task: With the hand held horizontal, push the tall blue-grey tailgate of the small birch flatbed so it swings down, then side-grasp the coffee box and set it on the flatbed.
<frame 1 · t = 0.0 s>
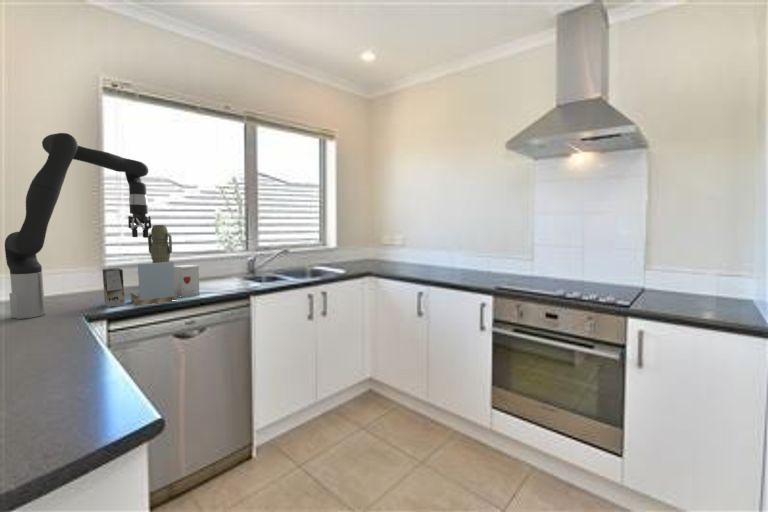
hand: (140, 237, 191), 29 cm above the countertop, tool pointing down, fingers open, 8 cm apart
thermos: (162, 290, 211), on the countertop
flatbed: (154, 301, 182), on the countertop
tailgate: (156, 280, 176), point 11 cm above the countertop, hinge at 0.0°
coffee box: (114, 305, 174), on the countertop
supplement box: (186, 295, 197), on the countertop
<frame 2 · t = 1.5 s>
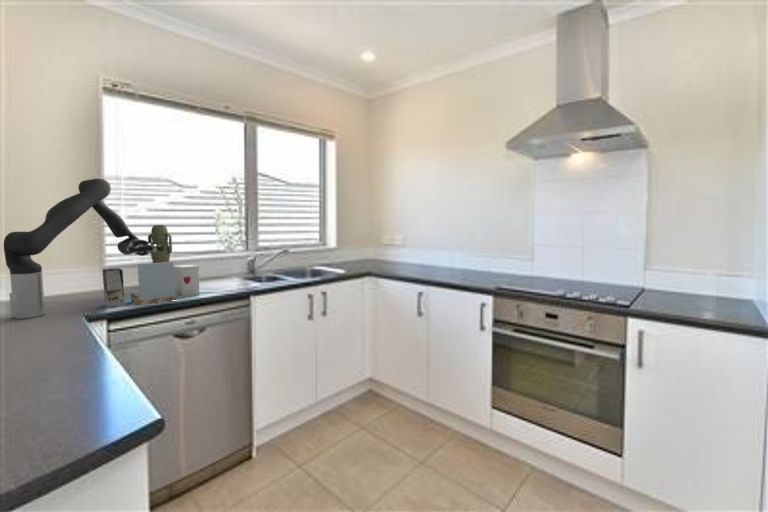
hand: (150, 249, 179), 24 cm above the countertop, tool horizontal, fingers open, 8 cm apart
nothing on the countertop moved.
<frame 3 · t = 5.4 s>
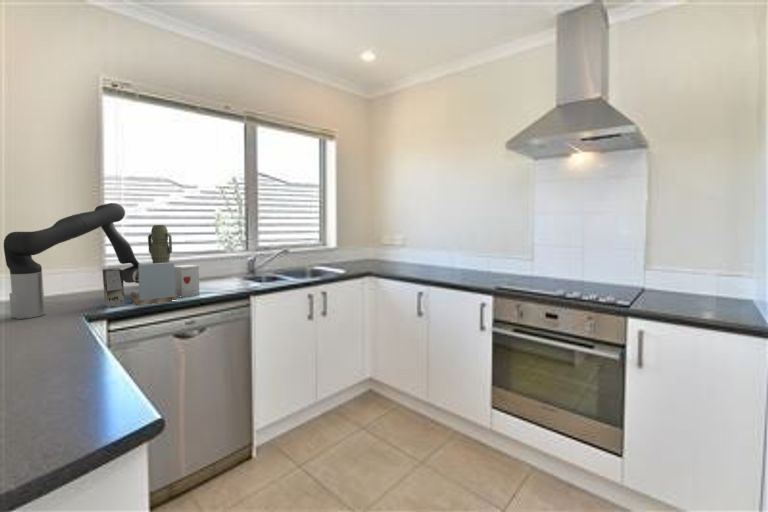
hand: (157, 280, 176), 10 cm above the countertop, tool horizontal, fingers closed
tailgate: (157, 281, 176), point 10 cm above the countertop, hinge at 4.4°, touching gripper
everything else where it was.
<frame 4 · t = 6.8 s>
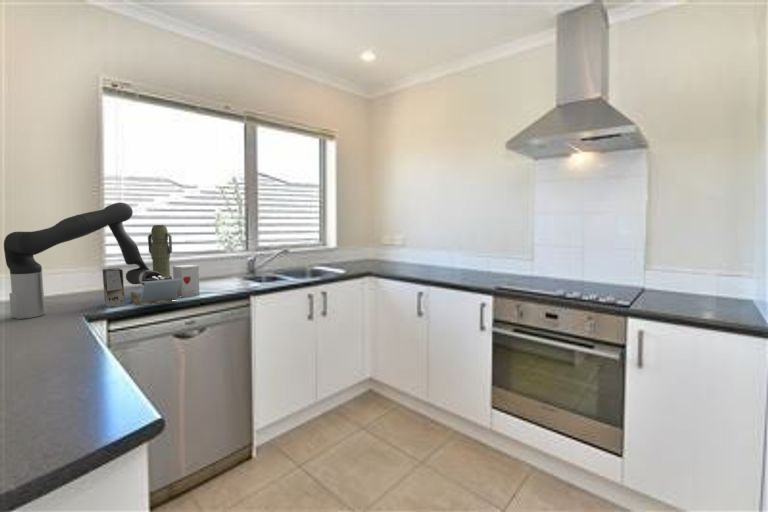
hand: (164, 282, 171), 10 cm above the countertop, tool horizontal, fingers closed
tailgate: (160, 290, 172), point 7 cm above the countertop, hinge at 51.3°, touching gripper
everything else where it was.
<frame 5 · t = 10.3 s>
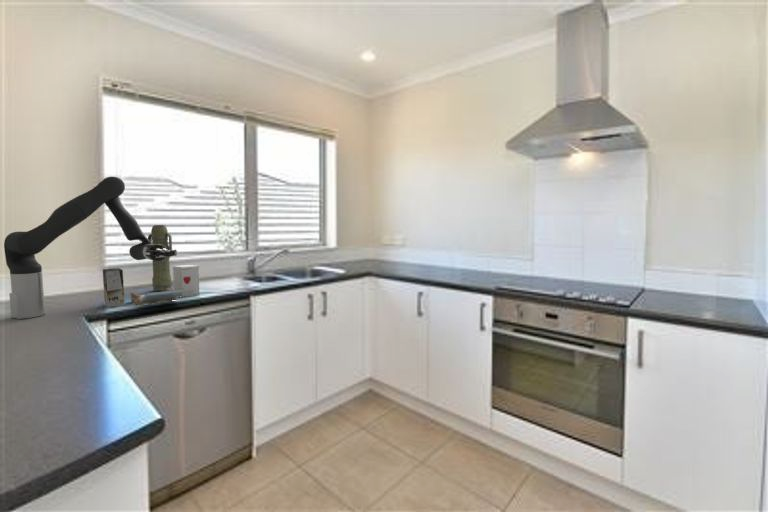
hand: (169, 254, 164), 24 cm above the countertop, tool horizontal, fingers closed
tailgate: (161, 296, 172), point 4 cm above the countertop, hinge at 70.3°
everything else where it was.
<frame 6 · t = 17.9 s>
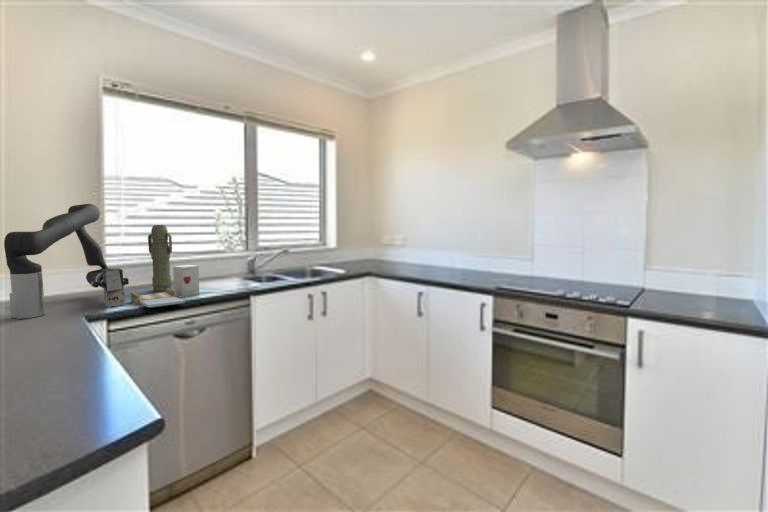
hand: (114, 284, 172), 10 cm above the countertop, tool horizontal, fingers closed on coffee box, 6 cm apart
tailgate: (162, 301, 172), point 2 cm above the countertop, hinge at 88.1°
coffee box: (114, 305, 174), on the countertop, touching gripper
everything else where it was.
when the fingers open (13 cm above the countertop, at t = 22.5 s): coffee box drops 1 cm, resting on flatbed.
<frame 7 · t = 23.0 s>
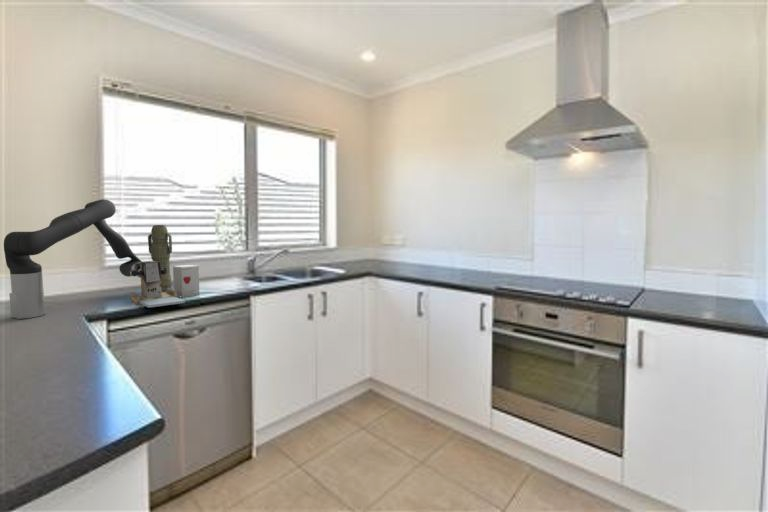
hand: (153, 273, 180), 13 cm above the countertop, tool horizontal, fingers open, 8 cm apart
coffee box: (151, 296, 181), point 2 cm above the countertop, touching flatbed, gripper
everything else where it was.
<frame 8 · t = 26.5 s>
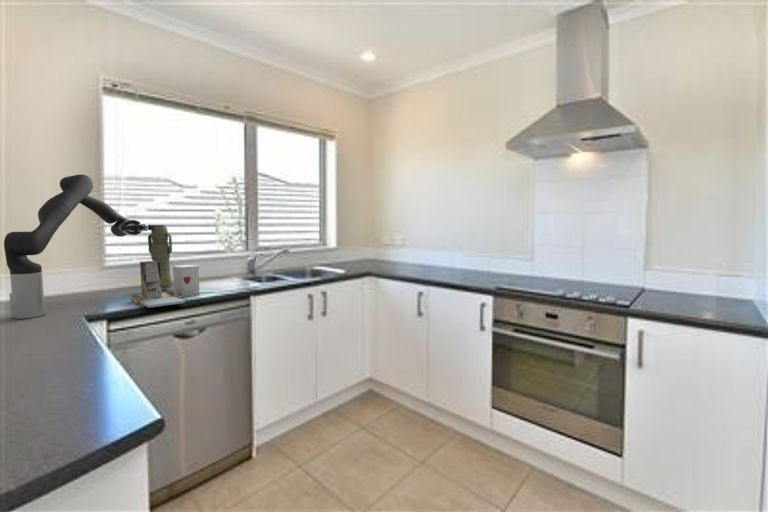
hand: (142, 227, 186), 34 cm above the countertop, tool horizontal, fingers open, 8 cm apart
coffee box: (151, 296, 182), point 2 cm above the countertop, touching flatbed
everything else where it was.
at the end: tailgate at +88° (first picture: +0°); coffee box inside the target area on the flatbed (0.9 cm from its centre), point 2.3 cm above the flatbed's base; coffee box tilted 0° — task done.
